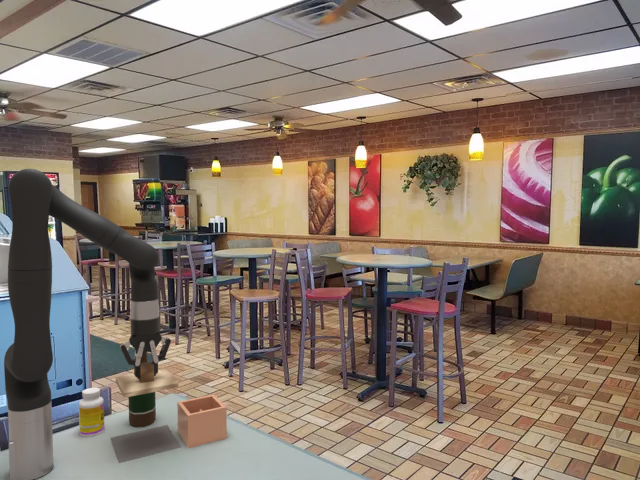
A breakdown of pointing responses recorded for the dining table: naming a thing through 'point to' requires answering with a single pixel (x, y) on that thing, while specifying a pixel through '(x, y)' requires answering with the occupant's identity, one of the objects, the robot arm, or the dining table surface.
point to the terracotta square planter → (202, 420)
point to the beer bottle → (142, 406)
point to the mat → (144, 443)
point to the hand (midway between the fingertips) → (146, 376)
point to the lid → (146, 381)
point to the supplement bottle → (91, 413)
